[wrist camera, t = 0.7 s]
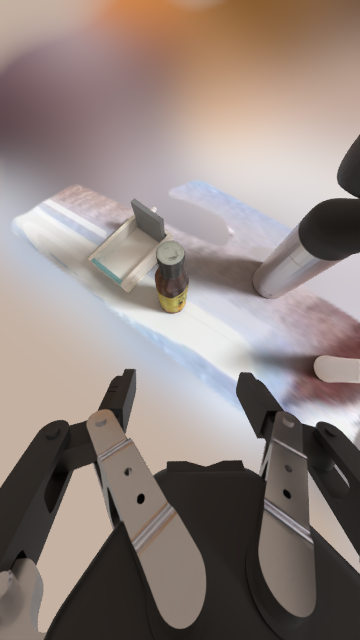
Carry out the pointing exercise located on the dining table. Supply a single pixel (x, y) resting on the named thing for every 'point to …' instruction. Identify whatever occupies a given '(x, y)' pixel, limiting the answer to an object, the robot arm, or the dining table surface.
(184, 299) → the sauce bottle
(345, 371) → the cosmetic bottle
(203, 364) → the dining table surface
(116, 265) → the pusher lane
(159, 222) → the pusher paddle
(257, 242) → the dining table surface
